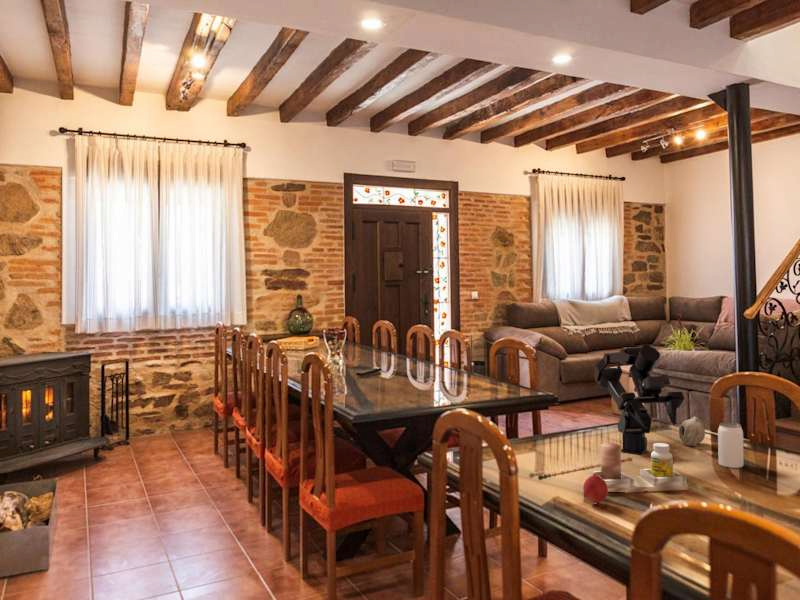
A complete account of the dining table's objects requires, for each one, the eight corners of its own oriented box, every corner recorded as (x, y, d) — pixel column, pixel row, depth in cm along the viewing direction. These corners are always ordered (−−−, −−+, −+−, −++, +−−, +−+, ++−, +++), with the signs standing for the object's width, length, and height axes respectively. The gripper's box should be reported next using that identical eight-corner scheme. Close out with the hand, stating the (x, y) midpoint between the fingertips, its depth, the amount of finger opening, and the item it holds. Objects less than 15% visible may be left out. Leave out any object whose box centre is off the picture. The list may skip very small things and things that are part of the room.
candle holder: (600, 493, 159) (599, 450, 158) (587, 482, 168) (587, 441, 167) (688, 489, 160) (687, 447, 159) (671, 478, 169) (670, 438, 168)
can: (746, 469, 176) (746, 427, 175) (722, 468, 177) (721, 427, 177) (739, 462, 182) (738, 422, 182) (715, 461, 183) (715, 422, 183)
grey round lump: (689, 448, 208) (689, 419, 210) (712, 449, 200) (712, 419, 203) (671, 443, 203) (672, 413, 206) (694, 444, 196) (695, 413, 199)
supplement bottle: (675, 479, 164) (675, 444, 164) (669, 484, 160) (668, 448, 160) (655, 475, 168) (654, 441, 168) (648, 481, 164) (647, 445, 164)
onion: (579, 500, 154) (579, 469, 153) (602, 499, 154) (601, 468, 154) (589, 509, 148) (588, 476, 148) (612, 507, 148) (611, 475, 148)
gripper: (619, 366, 183) (635, 410, 172) (681, 364, 183) (700, 408, 173) (610, 387, 191) (624, 431, 180) (669, 385, 191) (687, 429, 181)
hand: (659, 424), depth 178 cm, fingers open, 9 cm apart
